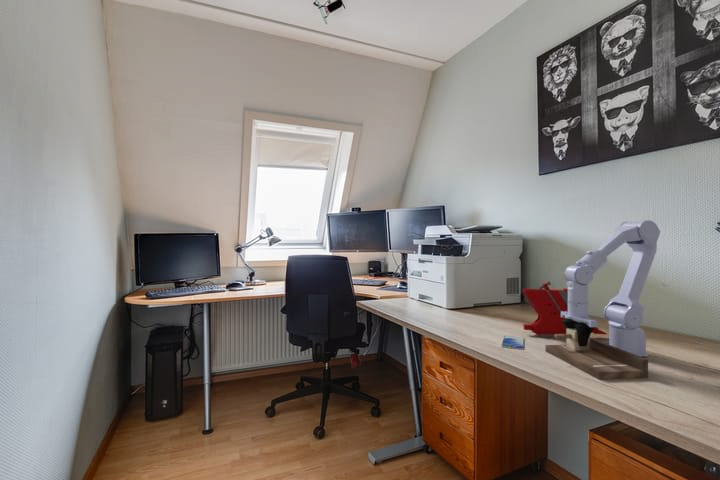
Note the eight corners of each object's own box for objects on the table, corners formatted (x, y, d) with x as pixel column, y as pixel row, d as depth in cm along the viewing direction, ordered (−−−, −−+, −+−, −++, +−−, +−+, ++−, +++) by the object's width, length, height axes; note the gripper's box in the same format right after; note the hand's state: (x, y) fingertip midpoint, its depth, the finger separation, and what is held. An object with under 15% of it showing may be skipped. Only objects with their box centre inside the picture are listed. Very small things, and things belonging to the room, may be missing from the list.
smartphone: (524, 337, 133) (523, 348, 119) (524, 340, 133) (523, 351, 119) (504, 335, 136) (500, 345, 122) (503, 337, 136) (500, 348, 122)
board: (585, 350, 119) (585, 335, 119) (648, 378, 95) (648, 359, 95) (545, 351, 118) (545, 336, 118) (599, 379, 94) (599, 360, 94)
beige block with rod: (580, 346, 117) (580, 328, 117) (589, 350, 113) (589, 331, 113) (552, 346, 116) (552, 328, 116) (559, 350, 112) (559, 331, 112)
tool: (600, 331, 138) (567, 268, 140) (609, 334, 132) (574, 268, 134) (536, 358, 140) (505, 295, 142) (543, 362, 134) (510, 297, 136)
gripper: (552, 298, 122) (552, 337, 122) (581, 306, 107) (581, 351, 107) (571, 298, 122) (571, 337, 122) (603, 306, 108) (603, 350, 108)
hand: (577, 343), depth 115 cm, fingers closed on beige block with rod, 4 cm apart
